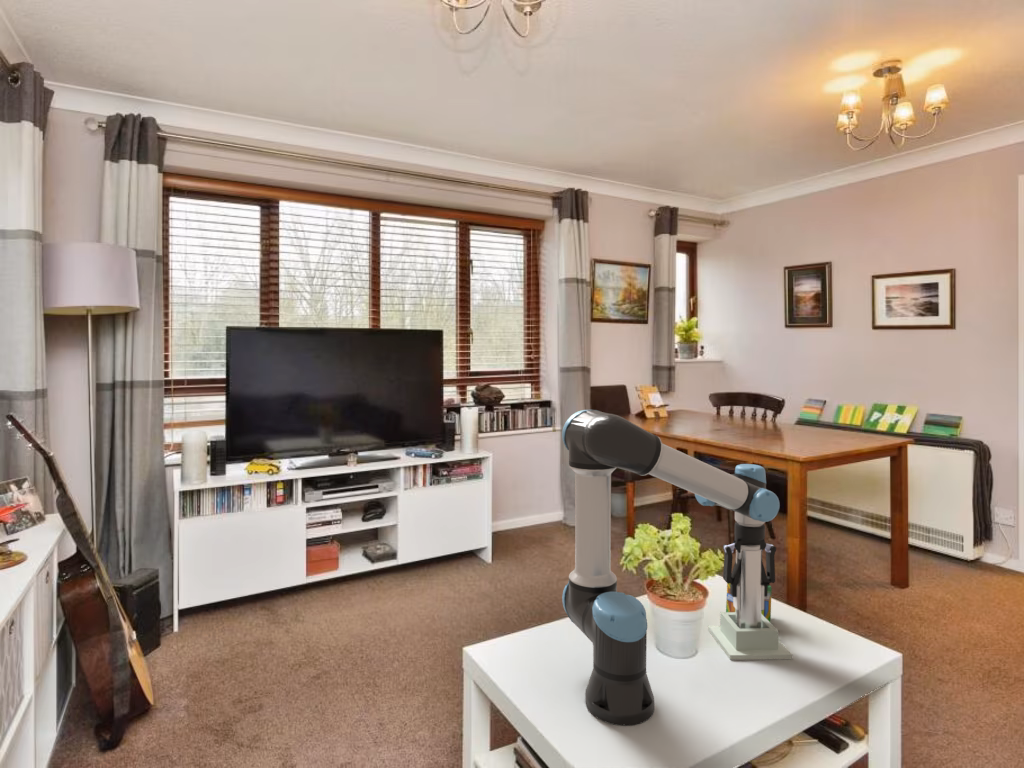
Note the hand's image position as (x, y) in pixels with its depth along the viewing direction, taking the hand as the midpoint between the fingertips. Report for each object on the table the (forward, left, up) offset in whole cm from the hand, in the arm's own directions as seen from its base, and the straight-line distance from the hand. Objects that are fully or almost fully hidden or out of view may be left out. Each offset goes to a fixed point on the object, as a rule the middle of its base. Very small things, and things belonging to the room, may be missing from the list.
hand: (748, 607), depth 155 cm
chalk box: (+6, +14, -10) cm, 18 cm away
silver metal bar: (0, 0, -8) cm, 8 cm away
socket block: (0, 0, -10) cm, 10 cm away
